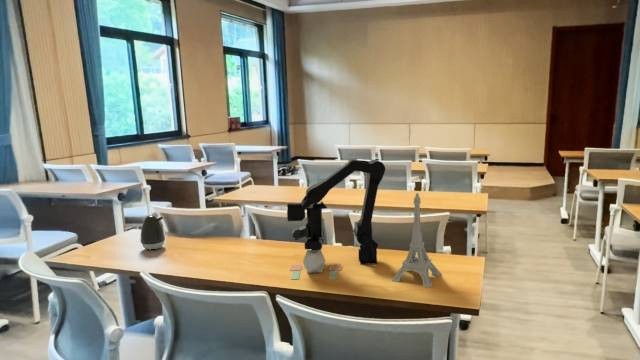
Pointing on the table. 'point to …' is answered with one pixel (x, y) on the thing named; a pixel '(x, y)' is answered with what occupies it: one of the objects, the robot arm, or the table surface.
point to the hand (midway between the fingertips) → (315, 259)
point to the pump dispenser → (152, 233)
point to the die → (314, 261)
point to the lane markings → (298, 267)
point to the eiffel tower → (422, 261)
